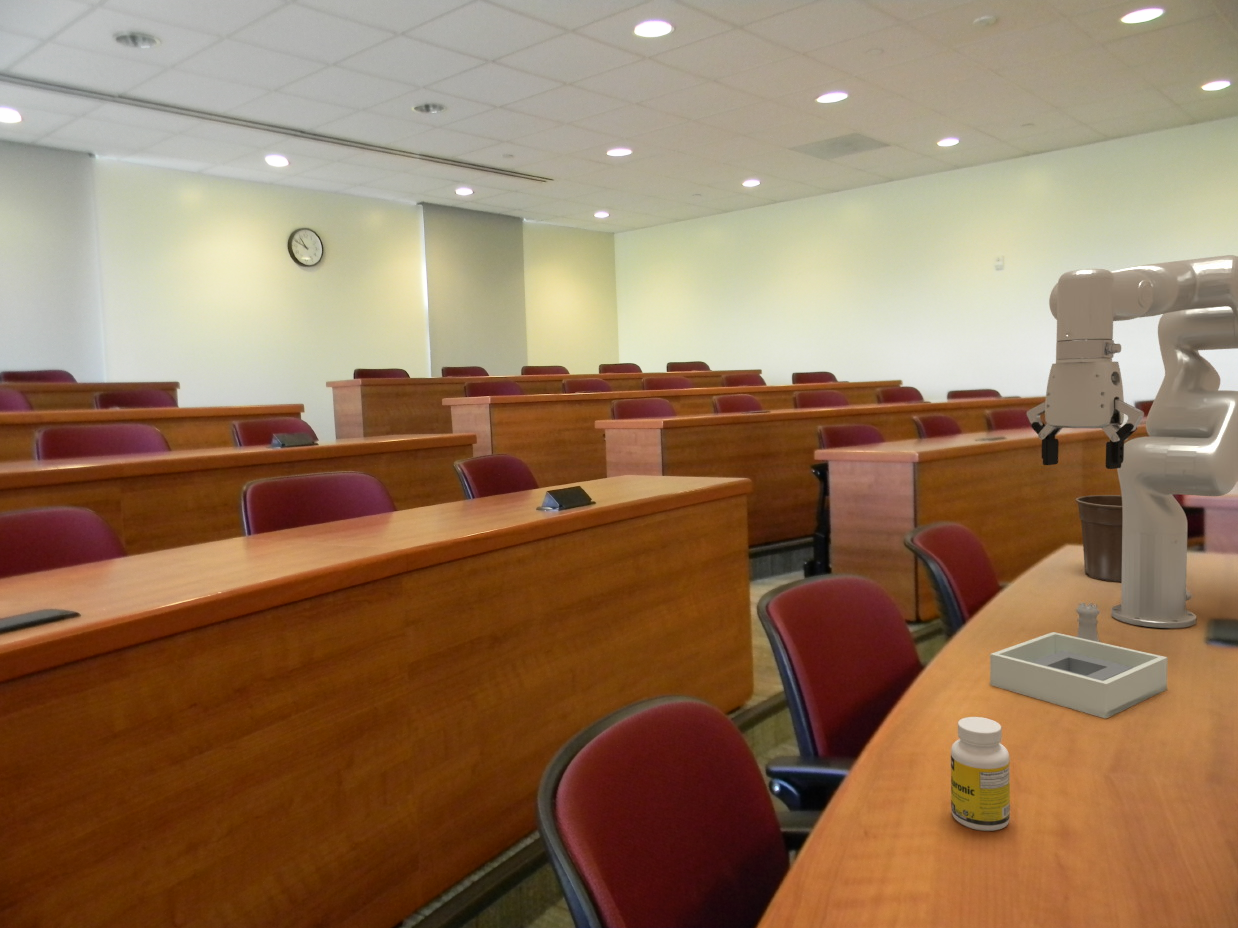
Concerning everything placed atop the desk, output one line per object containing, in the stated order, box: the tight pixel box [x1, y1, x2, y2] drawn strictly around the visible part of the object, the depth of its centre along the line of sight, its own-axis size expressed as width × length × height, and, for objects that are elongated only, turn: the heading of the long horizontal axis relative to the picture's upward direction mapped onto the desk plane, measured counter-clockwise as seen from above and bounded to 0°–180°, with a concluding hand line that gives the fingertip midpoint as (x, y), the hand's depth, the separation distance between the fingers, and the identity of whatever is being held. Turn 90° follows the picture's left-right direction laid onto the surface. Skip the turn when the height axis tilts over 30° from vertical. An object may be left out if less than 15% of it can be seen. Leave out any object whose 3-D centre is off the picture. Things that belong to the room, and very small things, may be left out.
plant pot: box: [1075, 494, 1123, 583], centre depth 181 cm, size 16×16×16 cm
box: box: [989, 631, 1168, 719], centre depth 121 cm, size 16×16×4 cm
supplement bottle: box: [950, 716, 1011, 832], centre depth 87 cm, size 5×5×10 cm
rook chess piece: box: [1075, 602, 1101, 642], centre depth 134 cm, size 4×4×8 cm
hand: (1080, 466), depth 133 cm, fingers open, 9 cm apart
